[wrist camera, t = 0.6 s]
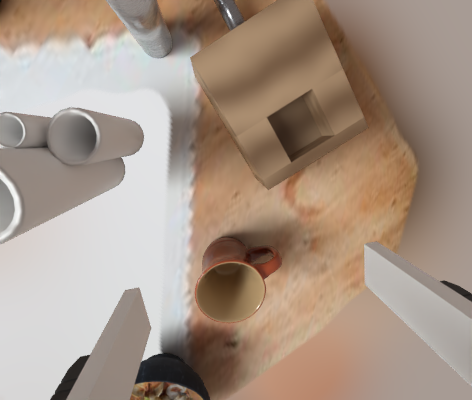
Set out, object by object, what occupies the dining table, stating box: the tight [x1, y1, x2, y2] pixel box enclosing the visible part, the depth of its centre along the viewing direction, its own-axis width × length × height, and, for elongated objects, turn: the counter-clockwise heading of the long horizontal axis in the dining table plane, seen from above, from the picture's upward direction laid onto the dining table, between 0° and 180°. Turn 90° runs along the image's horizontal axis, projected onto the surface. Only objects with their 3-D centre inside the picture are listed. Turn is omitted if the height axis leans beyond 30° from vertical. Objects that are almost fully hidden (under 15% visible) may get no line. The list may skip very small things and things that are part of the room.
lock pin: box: [214, 0, 245, 31], centre depth 29 cm, size 14×4×4 cm, turn 31°
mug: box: [195, 237, 282, 323], centre depth 36 cm, size 12×9×10 cm
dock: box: [190, 0, 369, 190], centre depth 32 cm, size 17×14×8 cm
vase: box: [0, 108, 144, 244], centre depth 26 cm, size 11×7×20 cm, turn 148°
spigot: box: [106, 0, 172, 58], centre depth 26 cm, size 4×4×14 cm
